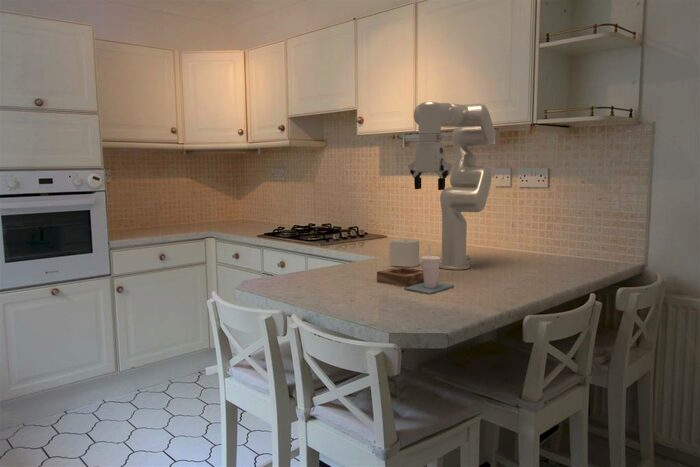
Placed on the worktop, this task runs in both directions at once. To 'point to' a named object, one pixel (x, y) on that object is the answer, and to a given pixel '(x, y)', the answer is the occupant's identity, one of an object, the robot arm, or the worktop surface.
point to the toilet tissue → (404, 253)
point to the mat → (422, 289)
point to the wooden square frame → (401, 276)
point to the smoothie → (430, 270)
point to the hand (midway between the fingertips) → (429, 189)
